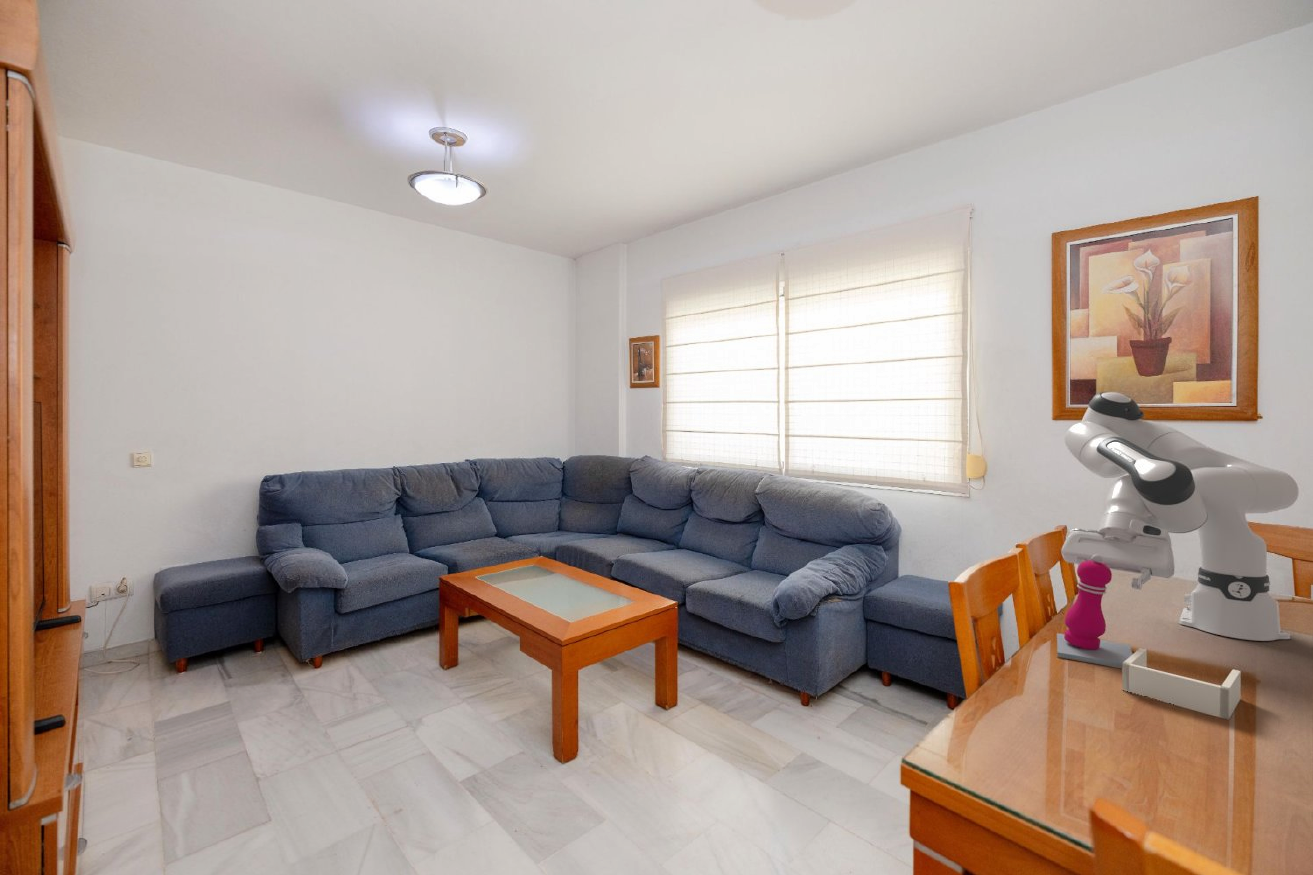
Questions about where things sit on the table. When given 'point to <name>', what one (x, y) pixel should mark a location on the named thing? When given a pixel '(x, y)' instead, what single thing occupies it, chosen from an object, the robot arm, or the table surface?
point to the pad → (1095, 652)
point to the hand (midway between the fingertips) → (1109, 582)
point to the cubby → (1181, 687)
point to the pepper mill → (1088, 605)
